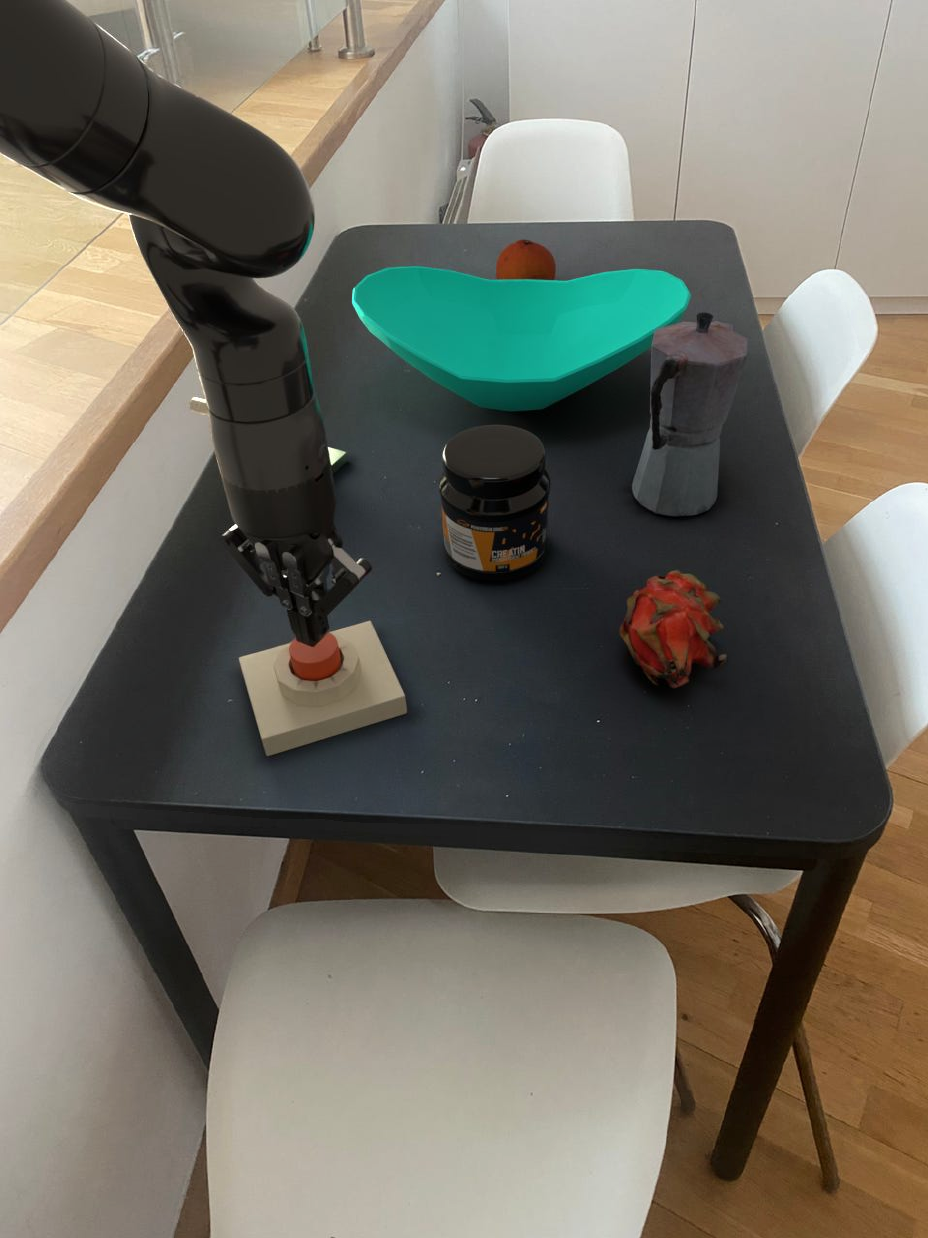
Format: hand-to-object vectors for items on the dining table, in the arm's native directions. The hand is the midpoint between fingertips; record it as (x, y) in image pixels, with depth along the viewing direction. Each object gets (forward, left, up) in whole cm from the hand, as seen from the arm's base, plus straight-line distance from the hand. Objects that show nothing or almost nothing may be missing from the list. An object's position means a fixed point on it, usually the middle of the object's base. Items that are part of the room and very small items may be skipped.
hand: (312, 638), depth 74 cm
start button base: (0, 0, -7) cm, 7 cm away
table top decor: (+36, +41, -7) cm, 55 cm away
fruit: (+49, +68, -7) cm, 84 cm away
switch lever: (+2, +32, +4) cm, 32 cm away
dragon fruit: (+29, -8, -7) cm, 31 cm away
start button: (0, 0, -3) cm, 3 cm away
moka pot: (+42, +13, -7) cm, 44 cm away
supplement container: (+21, +12, -7) cm, 25 cm away
